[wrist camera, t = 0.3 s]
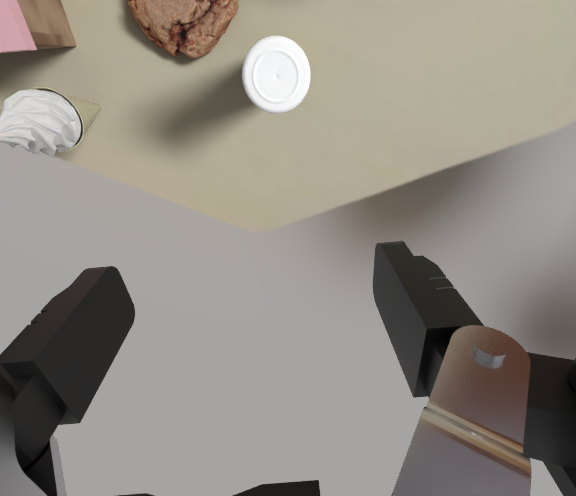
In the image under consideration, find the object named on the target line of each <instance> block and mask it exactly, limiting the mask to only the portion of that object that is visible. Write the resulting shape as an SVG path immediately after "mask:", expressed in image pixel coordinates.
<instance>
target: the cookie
mask: <svg viewBox="0 0 576 496" xmlns="http://www.w3.org/2000/svg"><path fill="white" fill-rule="evenodd" d="M128 5H129V9H130V12H131V14H132V16H133V18H134V19H135V21H136V22H137V24H138V26H139V27H140V29H141V31H142V32H143V33H144V34H145V35H146V36H147V38H148V39H149V40H151V41H152V42H153V43H154V44H155V45H156V46H159V47H161V48H163V49H164V50H165V51H166V52H168V53H169V54H170V55H172V56H176V55H177V54H178V53H179V51H181V52H182V53H184V54H185V55H186V56H188V57H191V58H197V57H201V56H203V55H205V54H208V53H209V52H210V51H211V50H212V49H213V48H214V47H215V45H216V44H217V42H218V41H219V39H220V37H221V36H222V35H223V34H224V33H225V31H226V29H227V27H228V25H229V23H230V21H231V20H232V18H233V17H234V16H235V15H236V13H237V10H238V1H237V0H128Z"/></svg>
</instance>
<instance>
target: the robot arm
mask: <svg viewBox="0 0 576 496" xmlns="http://www.w3.org/2000/svg"><path fill="white" fill-rule="evenodd" d="M373 294H374V299H375V303H376V306H377V308H378V310H379V313H380V315H381V318H382V320H383V323H384V325H385V328H386V330H387V333H388V335H389V338H390V340H391V343H392V345H393V347H394V350H395V353H396V355H397V358H398V360H399V363H400V365H401V368H402V370H403V373H404V375H405V378H406V380H407V382H408V385H409V387H410V390H411V392H412V395H413V397H425V396H428V397H429V401H428V404H427V406H426V407H424V409H423V412H422V414H421V416H420V419H419V421H418V424H417V427H416V430H415V432H414V435H413V438H412V441H411V444H410V446H409V449H408V451H407V454H406V457H405V460H404V462H403V466H402V468H401V471H400V473H399V476H398V479H397V482H396V484H395V487H394V490H393V493H392V495H391V496H530V490H531V462H530V459H529V458H533V459H536V460H540V461H543V462H544V464H545V466H546V467H547V469H548V470H549V472H550V474H551V476H552V478H553V479H554V481H555V483H556V484H557V486H558V488H559V489H560V491H561V492H562V494H563V496H576V358H575V360H570V359H563V358H557V357H552V356H546V355H539V354H534V353H529V352H526V350H525V349H524V348H523V346H522V345H520V344H519V343H518V342H517V341H516V340H515V339H514V338H512V337H510V336H509V335H507V334H505V333H503V332H501V331H499V330H496V329H494V328H490V327H486V326H484V325H483V324H482V323H481V321H480V320H479V319H478V317H477V316H476V315H475V314H474V312H473V311H472V310H471V308H470V307H469V306H468V304H467V303H466V302H465V301H464V299H463V298H462V297H461V295H460V294H459V293H458V291H457V290H456V289H454V288H453V285H452V284H451V282H450V281H449V280H448V279H446V276H445V275H444V273H443V272H442V271H441V269H440V268H439V267H438V266H437V265H436V264H435V263H433V262H432V261H430V260H428V259H427V258H425V257H424V256H413V254H412V253H411V251H410V250H409V248H408V247H407V246H406V244H405V243H404V242H403V241H396V242H385V243H377V245H376V248H375V260H374V275H373ZM134 317H135V308H134V304H133V302H132V300H131V297H130V295H129V293H128V291H127V288H126V286H125V284H124V281H123V279H122V277H121V275H120V273H119V271H118V269H117V268H115V267H113V266H110V267H98V268H88V269H85V270H84V271H83V272H82V273H81V274H80V275H79V276H78V277H77V279H76V280H75V281H74V282H73V283H72V284H71V285H70V286H69V287H68V288H66V289H65V290H64V291H62V292H61V293H59V294H58V295H57V296H55V297H53V298H52V299H51V301H50V302H49V303H48V304H47V305H46V306H45V307H44V308H43V309H42V310H41V313H39V314H38V315H37V316H36V317H35V318H34V319H33V320H32V321H31V325H27V326H26V328H25V329H24V330H23V331H22V332H21V333H20V334H19V335H18V336H17V337H16V338H15V339H14V340H13V342H12V343H11V344H10V345H9V346H8V347H7V348H6V349H5V350H4V351H3V352H2V354H1V355H0V496H67V495H66V490H65V483H64V477H63V471H62V465H61V459H60V453H59V447H58V442H57V439H56V438H55V437H54V435H53V433H54V431H55V429H56V428H57V426H58V425H62V424H75V423H80V422H81V420H82V418H83V416H84V414H85V412H86V411H87V409H88V407H89V405H90V403H91V401H92V399H93V398H94V395H95V394H96V392H97V390H98V388H99V386H100V384H101V383H102V381H103V379H104V377H105V375H106V373H107V371H108V369H109V367H110V366H111V364H112V362H113V360H114V358H115V356H116V355H117V353H118V351H119V349H120V347H121V345H122V343H123V341H124V340H125V338H126V336H127V334H128V332H129V330H130V328H131V327H132V324H133V322H134ZM119 496H153V495H150V494H134V495H133V494H132V495H119ZM233 496H320V489H319V481H318V480H315V481H301V482H288V483H275V484H262V485H259V486H257V487H254V488H252V489H249V490H246V491H244V492H241V493H239V494H236V495H233Z"/></svg>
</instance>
